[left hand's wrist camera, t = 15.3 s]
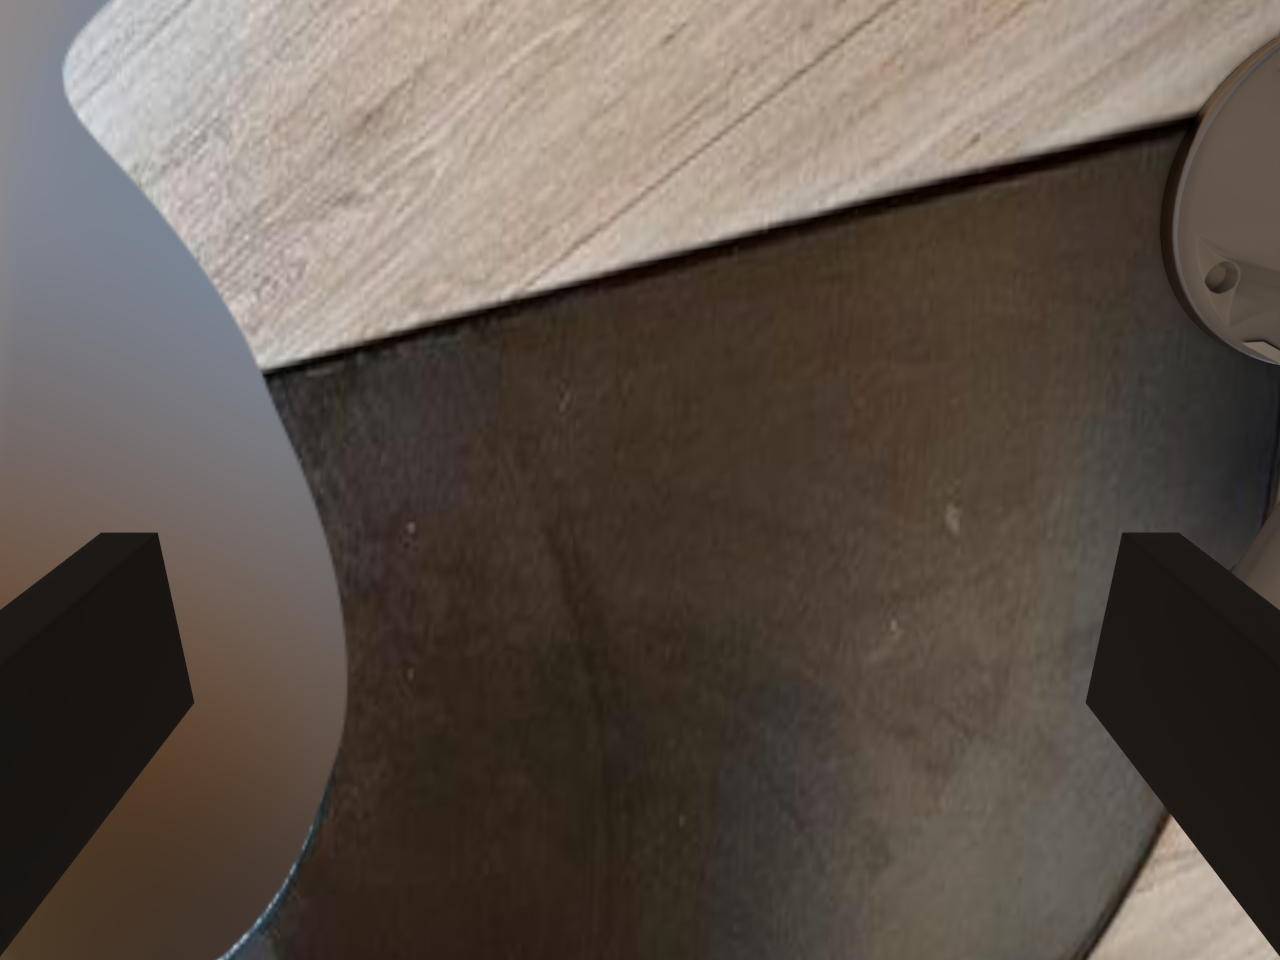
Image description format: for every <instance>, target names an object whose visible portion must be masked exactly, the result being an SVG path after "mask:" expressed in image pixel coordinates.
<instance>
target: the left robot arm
mask: <svg viewBox="0 0 1280 960" xmlns="http://www.w3.org/2000/svg"><path fill="white" fill-rule="evenodd" d="M1161 248H1162V255H1163V261H1164V266H1165V269H1166V273H1167V276H1168V280H1169V282H1170V284H1171V287H1172V289H1173V292H1174V294H1175V296H1176V297H1177V299H1178V301H1179V303H1180V304H1181V306H1182V308H1183V309H1184V310H1185V312H1186V313H1187V314H1188V316H1189V317H1190V318H1191V319H1192V320H1193V321H1194V322H1195V323H1196V324H1197V325H1198V327H1199V328H1200V329H1202V330H1203V331H1204V332H1205V333H1207V334H1208V335H1209V336H1210V337H1212V338H1213V339H1215V340H1216V341H1218V342H1220V343H1221V344H1223V345H1225V346H1227V347H1229V348H1231V349H1233V350H1235V351H1238V352H1240V353H1243V354H1246V355H1248V356H1251V357H1253V358H1256V359H1259V360H1262V361H1265V362H1269V363H1273V364H1278V365H1280V36H1279V37H1277V38H1275V39H1274V40H1272V41H1271V42H1269V43H1268V44H1266V45H1265V46H1264V47H1262V48H1261V49H1260V50H1258V51H1257V52H1255V53H1254V54H1253V55H1252V56H1251V57H1249V58H1248V59H1247V60H1246V61H1245V62H1244V63H1242V64H1241V65H1240V66H1239V67H1238V68H1237V69H1236V70H1235V71H1234V72H1233V73H1232V74H1231V75H1230V76H1229V77H1228V78H1227V79H1226V80H1225V81H1224V82H1223V83H1222V84H1221V86H1220V87H1219V88H1218V89H1217V90H1216V91H1215V93H1214V94H1213V95H1212V96H1211V97H1210V99H1209V100H1208V101H1207V103H1206V104H1205V106H1204V107H1203V108H1202V110H1201V111H1200V112H1199V114H1198V116H1197V117H1196V119H1195V120H1194V122H1193V124H1192V125H1191V127H1190V129H1189V130H1188V132H1187V134H1186V136H1185V138H1184V140H1183V142H1182V144H1181V146H1180V148H1179V150H1178V153H1177V155H1176V158H1175V160H1174V163H1173V165H1172V168H1171V171H1170V175H1169V178H1168V181H1167V185H1166V189H1165V194H1164V199H1163V205H1162V213H1161ZM193 704H194V699H193V695H192V690H191V685H190V681H189V676H188V672H187V667H186V662H185V658H184V653H183V648H182V644H181V639H180V634H179V630H178V625H177V620H176V616H175V611H174V606H173V602H172V597H171V593H170V588H169V583H168V579H167V574H166V569H165V565H164V560H163V555H162V551H161V546H160V541H159V537H158V533H100V534H99V535H98V536H96V537H95V538H94V539H93V540H91V541H90V542H89V543H87V544H86V545H85V546H83V547H82V548H81V549H79V550H78V551H77V552H75V553H74V554H73V555H72V556H70V557H69V558H68V559H66V560H65V561H64V562H62V563H61V564H60V565H58V566H57V567H56V568H55V569H53V570H52V571H51V572H49V573H48V574H47V575H45V576H44V577H43V578H42V579H40V580H39V581H38V582H36V583H35V584H34V585H32V586H31V587H30V588H28V589H27V590H26V591H25V592H23V593H22V594H21V595H19V596H18V597H17V598H15V599H14V600H13V601H12V602H10V603H9V604H8V605H6V606H5V607H4V608H2V609H1V610H0V956H1V955H2V953H3V952H4V951H5V949H6V948H7V947H8V946H9V944H10V943H11V942H12V940H13V939H14V938H15V936H16V935H17V934H18V932H19V931H20V930H21V929H22V927H23V926H24V925H25V923H26V922H27V921H28V919H29V918H30V917H31V915H32V914H33V913H34V912H35V910H36V909H37V908H38V906H39V905H40V904H41V902H42V901H43V900H44V898H45V897H46V896H47V895H48V893H49V892H50V891H51V889H52V888H53V887H54V885H55V884H56V883H57V882H58V880H59V879H60V878H61V876H62V875H63V874H64V872H65V871H66V870H67V868H68V867H69V866H70V865H71V863H72V862H73V860H74V859H75V858H76V857H77V855H78V854H79V853H80V851H81V850H82V849H83V848H84V846H85V845H86V844H87V842H88V841H89V840H90V838H91V837H92V836H93V834H94V833H95V832H96V831H97V829H98V828H99V827H100V825H101V824H102V823H103V821H104V820H105V819H106V817H107V816H108V815H109V813H110V812H111V811H112V810H113V808H114V807H115V806H116V804H117V803H118V802H119V800H120V799H121V798H122V797H123V795H124V794H125V793H126V791H127V790H128V789H129V787H130V786H131V785H132V783H133V782H134V781H135V779H136V778H137V777H138V776H139V774H140V773H141V772H142V770H143V769H144V768H145V766H146V765H147V764H148V763H149V761H150V760H151V759H152V757H153V756H154V755H155V753H156V752H157V751H158V749H159V748H160V747H161V746H162V744H163V743H164V742H165V740H166V739H167V738H168V736H169V735H170V734H171V732H172V731H173V730H174V728H175V727H176V726H177V724H178V723H179V722H180V721H181V719H182V718H183V717H184V716H185V714H186V713H187V712H188V710H189V709H190V708H191V706H192V705H193ZM1086 704H1087V705H1088V706H1089V708H1090V709H1091V710H1092V712H1093V713H1094V714H1095V716H1096V717H1097V718H1098V719H1099V721H1100V722H1101V723H1102V725H1103V726H1104V727H1105V729H1106V730H1107V731H1108V732H1109V734H1110V735H1111V736H1112V738H1113V739H1114V740H1115V742H1116V743H1117V744H1118V746H1119V747H1120V748H1121V749H1122V751H1123V752H1124V753H1125V755H1126V756H1127V757H1128V759H1129V760H1130V761H1131V763H1132V764H1133V765H1134V766H1135V768H1136V769H1137V770H1138V772H1139V773H1140V774H1141V776H1142V777H1143V778H1144V780H1145V781H1146V782H1147V783H1148V785H1149V786H1150V787H1151V789H1152V790H1153V791H1154V793H1155V794H1156V795H1157V797H1158V798H1159V799H1160V800H1161V802H1162V803H1163V804H1164V806H1165V807H1166V808H1167V810H1168V811H1169V812H1170V814H1171V815H1172V816H1173V817H1174V819H1175V820H1176V821H1177V823H1178V824H1179V825H1180V827H1181V828H1182V829H1183V831H1184V832H1185V833H1186V834H1187V836H1188V837H1189V838H1190V840H1191V841H1192V842H1193V844H1194V845H1195V846H1196V848H1197V849H1198V850H1199V851H1200V853H1201V854H1202V855H1203V857H1204V858H1205V859H1206V861H1207V862H1208V863H1209V865H1210V866H1211V867H1212V868H1213V870H1214V871H1215V872H1216V874H1217V875H1218V876H1219V878H1220V879H1221V880H1222V882H1223V883H1224V884H1225V885H1226V887H1227V888H1228V889H1229V891H1230V892H1231V893H1232V895H1233V896H1234V897H1235V898H1236V900H1237V901H1238V902H1239V904H1240V905H1241V906H1242V908H1243V909H1244V910H1245V912H1246V913H1247V914H1248V915H1249V917H1250V918H1251V919H1252V921H1253V922H1254V923H1255V925H1256V926H1257V927H1258V929H1259V930H1260V931H1261V932H1262V934H1263V935H1264V936H1265V938H1266V939H1267V940H1268V942H1269V943H1270V944H1271V946H1272V947H1273V948H1274V949H1275V951H1276V952H1277V953H1278V955H1279V956H1280V502H1279V503H1278V505H1277V506H1276V508H1275V509H1274V511H1273V512H1272V514H1271V515H1270V517H1269V518H1268V519H1267V521H1266V522H1265V524H1264V525H1263V527H1262V528H1261V530H1260V531H1259V533H1258V534H1257V536H1256V537H1255V539H1254V540H1253V541H1252V543H1251V544H1250V546H1249V547H1248V549H1247V550H1246V552H1245V553H1244V555H1243V556H1242V558H1241V559H1240V561H1239V562H1238V564H1236V565H1234V566H1233V567H1232V568H1231V569H1230V570H1229V571H1228V570H1227V569H1225V568H1224V567H1223V566H1222V565H1220V564H1219V563H1218V562H1216V561H1215V560H1214V559H1212V558H1211V557H1210V556H1208V555H1207V554H1206V553H1205V552H1203V551H1202V550H1201V549H1199V548H1198V547H1197V546H1195V545H1194V544H1193V543H1192V542H1190V541H1189V540H1188V539H1186V538H1185V537H1184V536H1182V535H1181V534H1180V533H1122V537H1121V541H1120V546H1119V551H1118V555H1117V560H1116V565H1115V569H1114V574H1113V579H1112V583H1111V588H1110V593H1109V597H1108V602H1107V606H1106V611H1105V616H1104V620H1103V625H1102V630H1101V634H1100V639H1099V644H1098V648H1097V653H1096V658H1095V662H1094V667H1093V671H1092V676H1091V681H1090V685H1089V690H1088V695H1087V699H1086Z"/></svg>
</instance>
